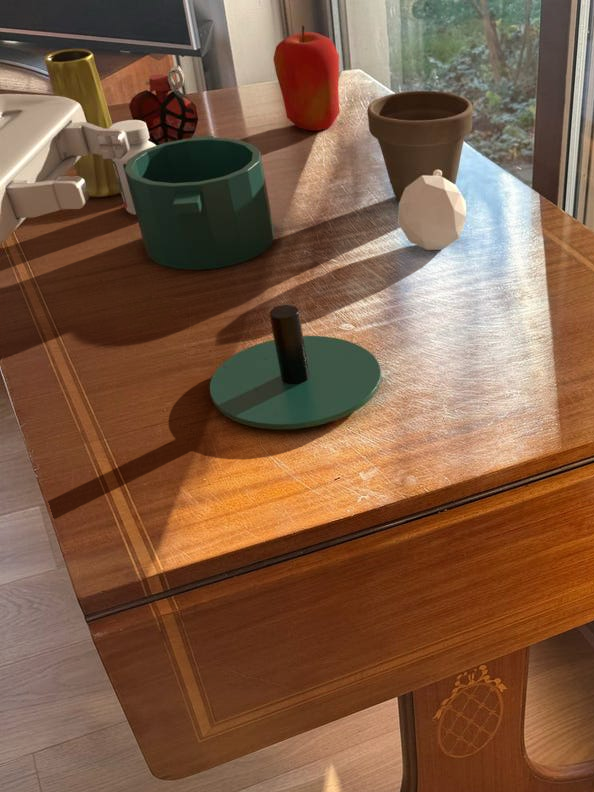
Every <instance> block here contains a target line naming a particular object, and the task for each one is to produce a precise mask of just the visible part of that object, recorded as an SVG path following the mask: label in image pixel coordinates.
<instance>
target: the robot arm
mask: <svg viewBox="0 0 594 792" xmlns="http://www.w3.org/2000/svg"><path fill="white" fill-rule="evenodd" d="M128 151H129V143H128V140H127V136H126V133H125V132H124V131H123V130H122V129H103V128H101V127H98V126H95V125H93V124H90V123H87V122H86V119H85V115H84V112H83V109H82V107H81V105H80V104H79V103H78V102H76V101H74V100H72V99H69V98H66V97H60V96H55V95H46V94H26V93H25V94H24V93H0V244H3V243H4V242H6V241H7V240H8V239H9V238H10V237H11V235H12V234H14V232H15V231H17V229H18V227H20V225H21V224H22V223H23V222H24V221H25V220H26V219H34V218H37V217H40V216H45V215H48V214H51V213H55V212H58V211H61V210H81V209H82V208H83V207H84V206H85V205H86V203H88V201H89V199H90V198H91V197H90V196H89V192H88V190H87V187H86V183H85V181H84V179H83V178H81V177H80V176H77V175H72V176H69V175H66V174H67V173H68V172H69V171H70V170H71V169H72V168H73V167H74V166H75V165H74V164H75V163H76V162H77V161H78V160H79V159H80V158H81V156H88V155H89V153H93V154H99V155H102V156H103V159H121V158H123V157H124V155H125V154H126V153H127V152H128Z"/></svg>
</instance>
